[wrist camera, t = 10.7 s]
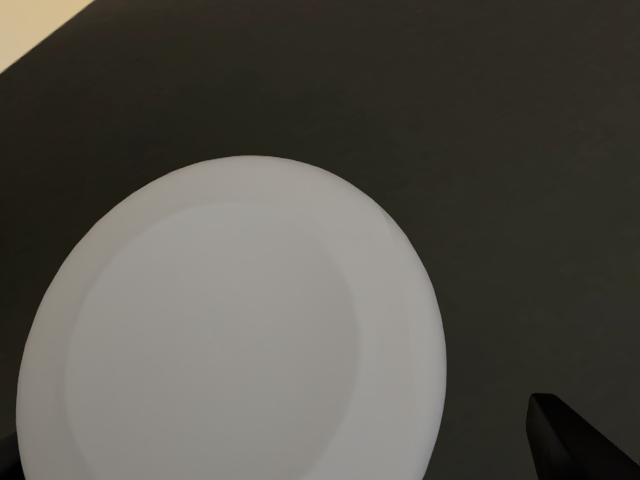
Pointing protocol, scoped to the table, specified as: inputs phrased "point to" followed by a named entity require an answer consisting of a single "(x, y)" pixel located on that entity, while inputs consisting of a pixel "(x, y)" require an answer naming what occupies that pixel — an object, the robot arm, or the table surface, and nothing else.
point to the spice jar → (236, 337)
